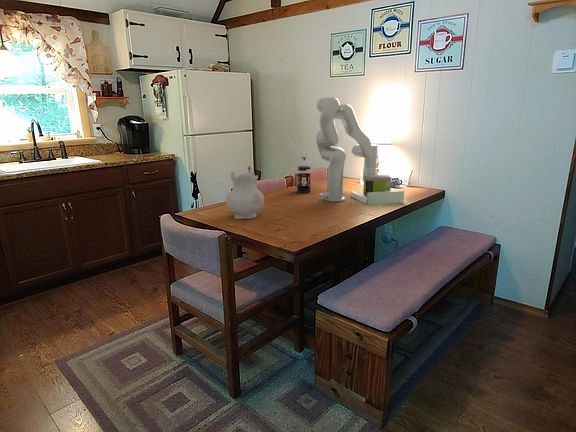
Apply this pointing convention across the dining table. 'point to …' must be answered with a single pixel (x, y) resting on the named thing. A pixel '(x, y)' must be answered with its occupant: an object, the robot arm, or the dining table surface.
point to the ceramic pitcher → (245, 196)
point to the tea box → (376, 183)
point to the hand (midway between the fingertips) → (368, 193)
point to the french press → (303, 188)
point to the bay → (380, 197)
